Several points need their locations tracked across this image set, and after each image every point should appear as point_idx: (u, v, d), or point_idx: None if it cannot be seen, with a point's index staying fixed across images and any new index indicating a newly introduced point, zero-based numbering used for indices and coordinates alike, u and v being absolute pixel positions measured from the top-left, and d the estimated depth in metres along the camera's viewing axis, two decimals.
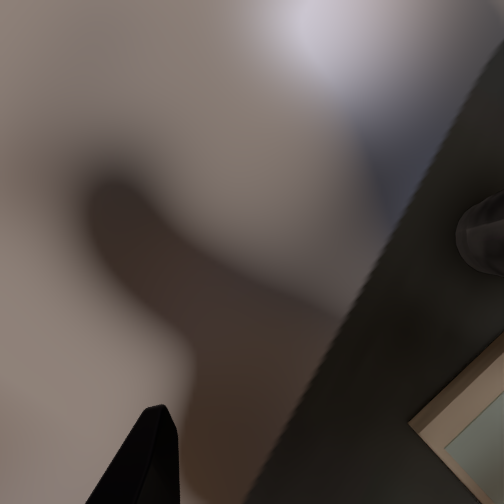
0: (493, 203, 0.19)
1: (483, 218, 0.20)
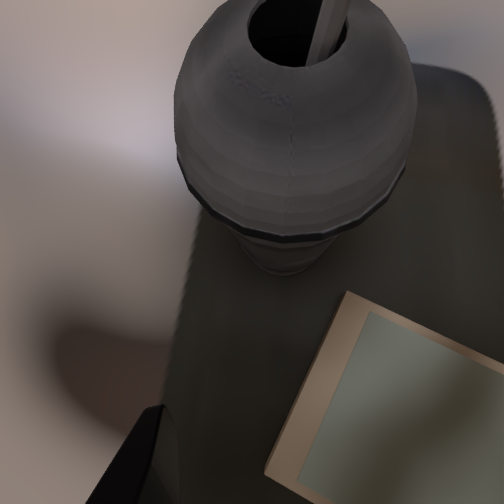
0: None
1: None
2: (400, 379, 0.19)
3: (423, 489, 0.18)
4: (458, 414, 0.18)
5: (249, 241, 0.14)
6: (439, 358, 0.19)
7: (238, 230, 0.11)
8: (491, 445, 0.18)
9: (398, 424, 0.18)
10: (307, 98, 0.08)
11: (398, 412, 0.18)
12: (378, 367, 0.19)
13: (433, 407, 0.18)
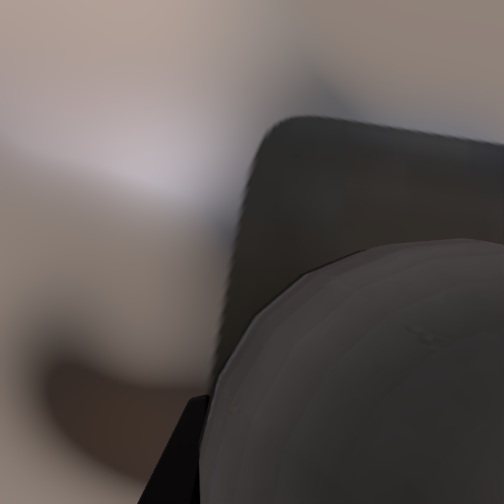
0: None
1: None
2: None
3: None
4: None
5: None
6: None
7: None
8: None
9: None
10: None
11: None
12: None
13: None
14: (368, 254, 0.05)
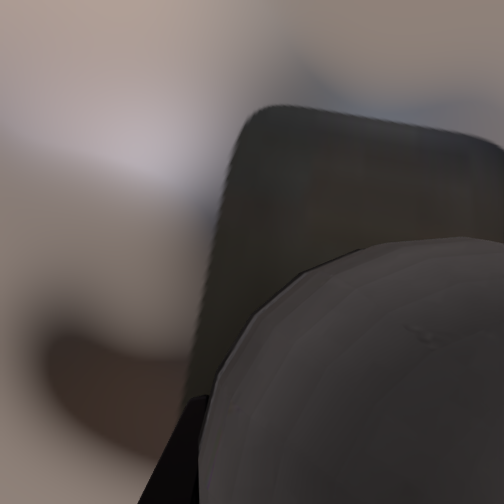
0: None
1: None
2: None
3: None
4: None
5: None
6: None
7: None
8: None
9: None
10: None
11: None
12: None
13: None
14: (367, 253, 0.05)
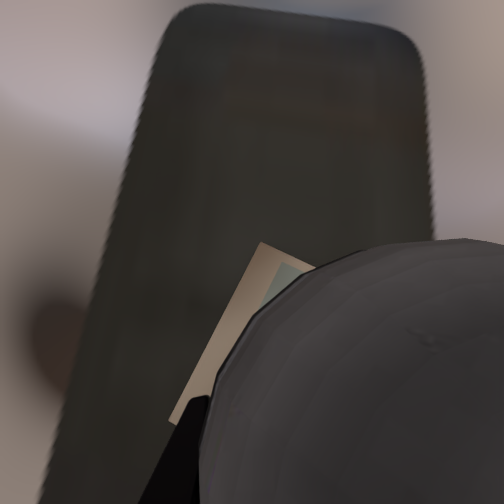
0: None
1: None
2: None
3: None
4: None
5: None
6: None
7: None
8: None
9: None
10: None
11: None
12: None
13: None
14: (368, 254, 0.05)
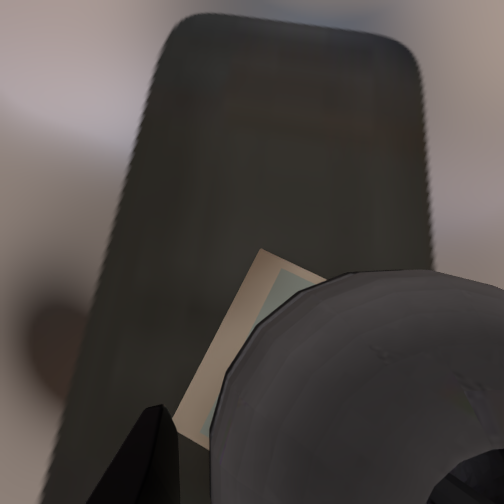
0: None
1: None
2: None
3: None
4: None
5: None
6: None
7: None
8: None
9: None
10: None
11: None
12: None
13: None
14: (351, 281, 0.06)
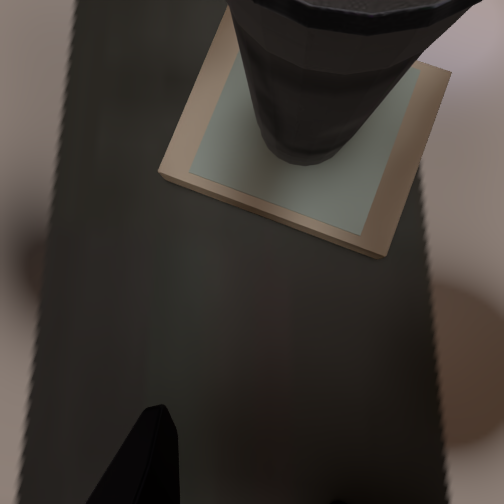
0: None
1: None
2: None
3: None
4: None
5: (290, 81, 0.10)
6: None
7: (299, 19, 0.07)
8: (369, 119, 0.19)
9: None
10: None
11: None
12: None
13: None
14: None
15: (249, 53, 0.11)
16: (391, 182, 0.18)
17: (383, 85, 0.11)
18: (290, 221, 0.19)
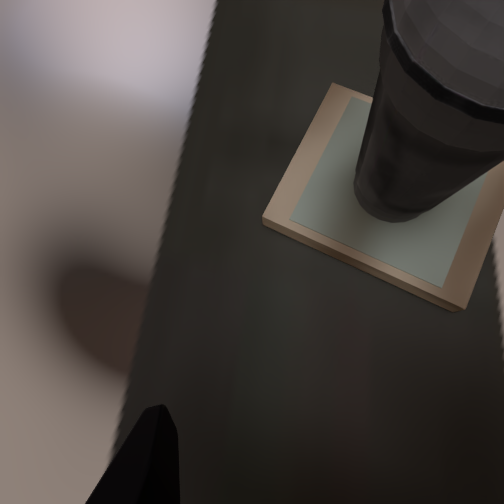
0: None
1: (360, 162, 0.19)
2: None
3: None
4: None
5: (425, 153, 0.13)
6: None
7: (470, 112, 0.10)
8: None
9: None
10: None
11: None
12: (358, 136, 0.23)
13: None
14: None
15: (391, 130, 0.14)
16: (470, 243, 0.21)
17: (498, 161, 0.13)
18: (377, 269, 0.21)
